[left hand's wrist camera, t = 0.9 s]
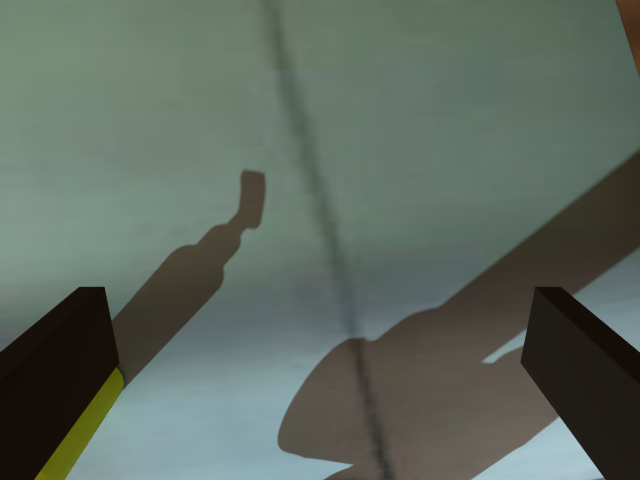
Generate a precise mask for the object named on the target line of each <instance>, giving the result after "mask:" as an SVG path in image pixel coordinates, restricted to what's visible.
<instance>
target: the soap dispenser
mask: <svg viewBox="0 0 640 480" xmlns="http://www.w3.org/2000/svg"><path fill="white" fill-rule="evenodd" d="M123 387H124V380H123V376H122V374H121V372H120V371H119V369H118V368H117V367H116V368H115V370H114V371H113V372H112V374H111V375H110V376H109V378H108V379H107V381H106V382H105V383H104V385H103V386H102V387H101V389H100V390H99V392H98V393H97V394H96V396H95V397H94V398H93V400H92V401H91V403H90V404H89V405H88V407H87V408H86V409H85V411H84V412H83V413H82V415H81V416H80V418H79V419H78V420H77V422H76V423H75V424H74V426H73V427H72V429H71V430H70V431H69V433H68V434H67V435H66V437H65V438H64V440H63V441H62V442H61V444H60V445H59V446H58V448H57V449H56V451H55V452H54V453H53V455H52V456H51V457H50V459H49V460H48V462H47V463H46V464H45V466H44V467H43V468H42V470H41V471H40V472H39V474H38V475H37V477H36V478H35V479H34V480H65V478H66V477H67V475H68V474H69V472H70V470H71V469H72V467H73V466H74V464H75V463H76V461H77V460H78V458H79V457H80V455H81V453H82V452H83V450H84V449H85V447H86V446H87V444H88V443H89V441H90V440H91V438H92V436H93V435H94V433H95V432H96V430H97V429H98V427H99V426H100V424H101V423H102V421H103V419H104V418H105V416H106V415H107V413H108V412H109V410H110V409H111V407H112V406H113V404H114V402H115V401H116V399H117V398H118V396H119V395H120V393H121V392H122V390H123Z"/></svg>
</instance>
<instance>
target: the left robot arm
mask: <svg viewBox="0 0 640 480" xmlns="http://www.w3.org/2000/svg"><path fill="white" fill-rule="evenodd" d="M119 363H120V362H119V357H118V352H117V347H116V342H115V337H114V332H113V327H112V322H111V317H110V312H109V307H108V302H107V297H106V292H105V287H79V288H77V289H76V290H75V291H74V292H73V293H71V294H70V295H69V296H68V297H66V298H65V299H64V300H63V301H62V302H60V303H59V304H58V305H57V306H56V307H54V308H53V309H52V310H51V311H50V312H48V313H47V314H46V315H45V316H44V317H42V318H41V319H40V320H39V321H38V322H36V323H35V324H34V325H33V326H31V327H30V328H29V329H28V330H27V331H25V332H24V333H23V334H22V335H21V336H19V337H18V338H17V339H16V340H15V341H13V342H12V343H11V344H10V345H9V346H7V347H6V348H5V349H4V350H2V351H1V352H0V480H34V479H35V478H36V477H37V475H38V474H39V472H40V471H41V470H42V468H43V467H44V466H45V464H46V463H47V462H48V460H49V459H50V457H51V456H52V455H53V453H54V452H55V451H56V449H57V448H58V446H59V445H60V444H61V442H62V441H63V440H64V438H65V437H66V435H67V434H68V433H69V431H70V430H71V429H72V427H73V426H74V424H75V423H76V422H77V420H78V419H79V418H80V416H81V415H82V413H83V412H84V411H85V409H86V408H87V407H88V405H89V404H90V403H91V401H92V400H93V398H94V397H95V396H96V394H97V393H98V392H99V390H100V389H101V387H102V386H103V385H104V383H105V382H106V381H107V379H108V378H109V376H110V375H111V374H112V372H113V371H114V370H115V368H116V367H117V365H118V364H119ZM520 363H521V364H522V365H523V367H524V368H525V370H526V371H527V372H528V374H529V375H530V376H531V378H532V379H533V381H534V382H535V383H536V385H537V386H538V387H539V389H540V390H541V392H542V393H543V394H544V396H545V397H546V398H547V400H548V401H549V403H550V404H551V405H552V407H553V408H554V409H555V411H556V412H557V413H558V415H559V416H560V418H561V419H562V420H563V422H564V423H565V424H566V426H567V427H568V429H569V430H570V431H571V433H572V434H573V435H574V437H575V438H576V440H577V441H578V442H579V444H580V445H581V446H582V448H583V449H584V451H585V452H586V453H587V455H588V456H589V457H590V459H591V460H592V462H593V463H594V464H595V466H596V467H597V468H598V470H599V471H600V472H601V474H602V475H603V477H604V478H605V479H606V480H640V352H639V351H638V350H636V349H635V348H634V347H633V346H631V345H630V344H629V343H628V342H627V341H625V340H624V339H623V338H622V337H621V336H619V335H618V334H617V333H616V332H615V331H613V330H612V329H611V328H610V327H609V326H607V325H606V324H605V323H604V322H602V321H601V320H600V319H599V318H598V317H596V316H595V315H594V314H593V313H592V312H590V311H589V310H588V309H587V308H586V307H584V306H583V305H582V304H581V303H580V302H578V301H577V300H576V299H575V298H574V297H572V296H571V295H570V294H569V293H567V292H566V291H565V290H564V289H563V288H561V287H535V292H534V297H533V302H532V307H531V312H530V317H529V322H528V327H527V332H526V337H525V342H524V347H523V352H522V357H521V362H520Z"/></svg>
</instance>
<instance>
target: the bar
mask: <svg viewBox="0 0 640 480" xmlns="http://www.w3.org/2000/svg"><path fill="white" fill-rule="evenodd" d="M616 3H617V6H618V9H619V12H620V16H621V19H622V22H623V25H624V28H625V32H626V35H627V38H628V41H629V44H630V48H631V51H632V54H633V57H634V60H635V64H636V67H637V70H638V73H639V76H640V0H616Z"/></svg>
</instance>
